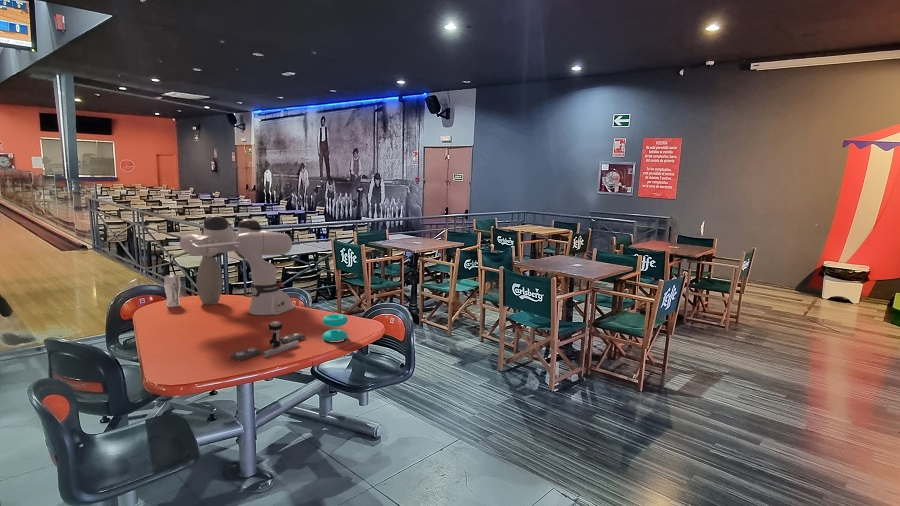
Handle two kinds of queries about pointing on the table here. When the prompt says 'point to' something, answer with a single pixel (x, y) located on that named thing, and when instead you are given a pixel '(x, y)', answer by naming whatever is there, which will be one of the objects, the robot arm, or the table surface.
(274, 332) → the push button
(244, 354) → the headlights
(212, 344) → the table surface
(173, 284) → the beer glass
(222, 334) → the table surface
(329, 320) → the donuts
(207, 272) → the bowling pin
